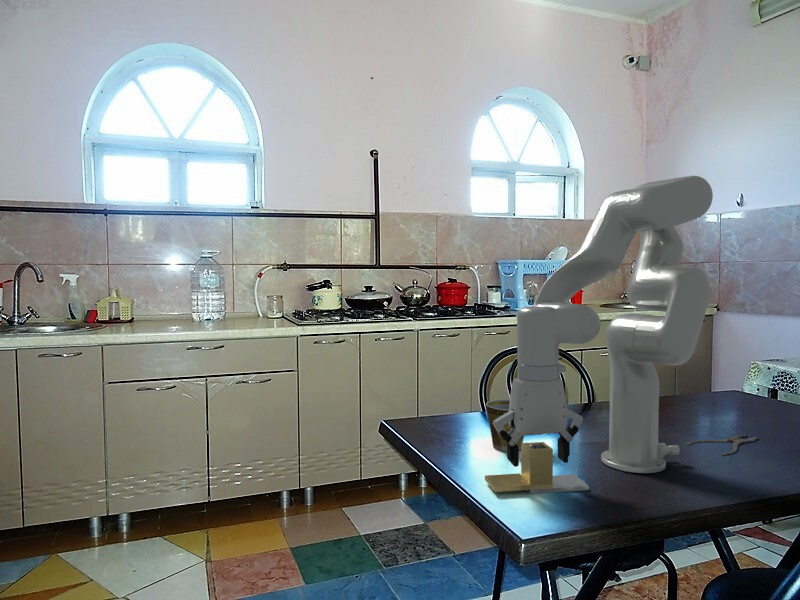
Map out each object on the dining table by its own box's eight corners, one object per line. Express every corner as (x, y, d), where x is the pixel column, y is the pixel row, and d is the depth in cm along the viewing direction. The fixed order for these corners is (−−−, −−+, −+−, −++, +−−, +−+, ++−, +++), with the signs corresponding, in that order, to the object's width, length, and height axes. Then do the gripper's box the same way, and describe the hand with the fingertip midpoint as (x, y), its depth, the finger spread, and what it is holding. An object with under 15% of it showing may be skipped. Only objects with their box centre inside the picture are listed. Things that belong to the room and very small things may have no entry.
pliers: (681, 444, 129) (716, 428, 142) (681, 448, 130) (716, 431, 142) (727, 455, 122) (759, 436, 135) (727, 458, 122) (759, 440, 135)
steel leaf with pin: (574, 478, 110) (574, 438, 110) (588, 490, 104) (589, 447, 104) (518, 481, 108) (519, 440, 108) (530, 493, 102) (530, 450, 102)
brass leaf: (541, 476, 109) (541, 440, 109) (554, 488, 103) (554, 450, 103) (484, 479, 107) (484, 443, 107) (494, 491, 101) (494, 453, 101)
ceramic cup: (530, 455, 124) (531, 410, 123) (484, 453, 125) (485, 408, 125) (527, 438, 136) (528, 397, 136) (486, 436, 138) (486, 396, 138)
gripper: (572, 366, 110) (572, 452, 111) (487, 371, 107) (488, 458, 108) (591, 374, 102) (591, 466, 103) (499, 378, 100) (500, 473, 101)
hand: (538, 462), depth 106 cm, fingers open, 9 cm apart
